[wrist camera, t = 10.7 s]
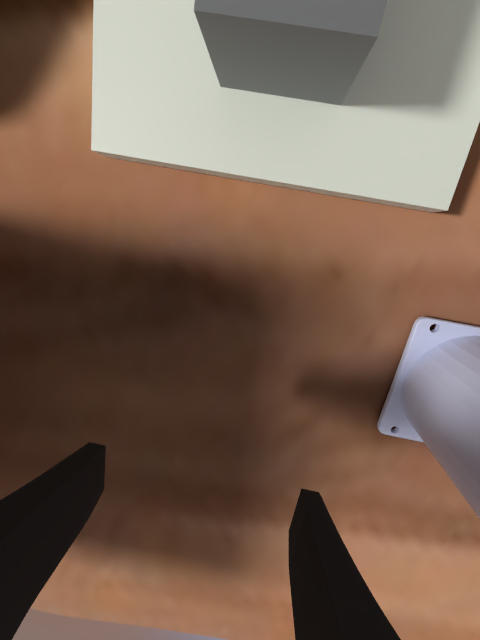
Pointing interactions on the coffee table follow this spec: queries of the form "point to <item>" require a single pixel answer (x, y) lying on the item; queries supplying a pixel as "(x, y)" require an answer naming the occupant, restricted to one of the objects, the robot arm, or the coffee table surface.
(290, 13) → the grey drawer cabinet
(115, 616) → the coffee table surface
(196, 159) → the plate
